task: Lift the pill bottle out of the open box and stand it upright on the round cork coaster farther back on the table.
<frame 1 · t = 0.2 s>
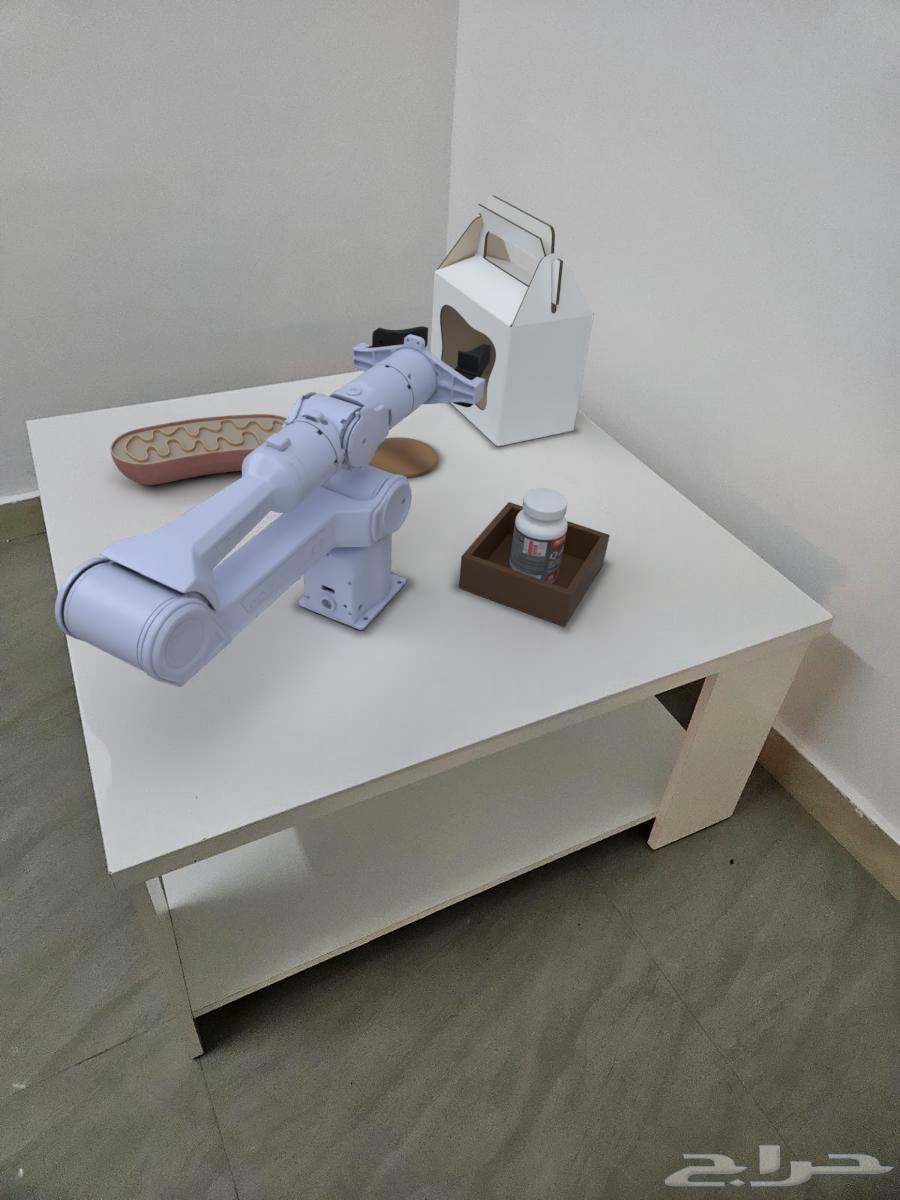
hand: (455, 344, 88), 21 cm above the table, tool horizontal, fingers open, 7 cm apart
gable box: (498, 407, 125), on the table
anatomical model: (211, 471, 106), on the table
open box: (532, 576, 93), on the table
coaster: (400, 458, 111), on the table
pill bottle: (532, 574, 93), resting on open box
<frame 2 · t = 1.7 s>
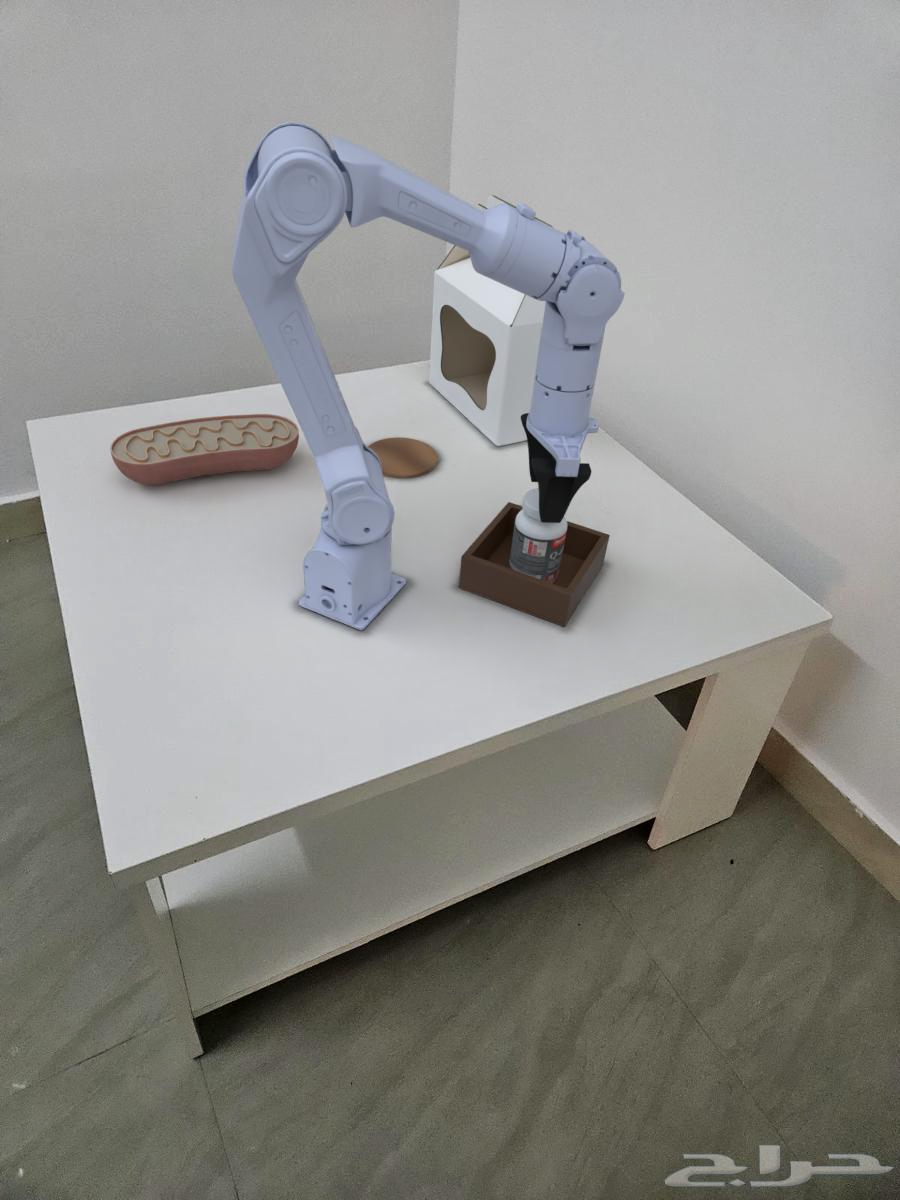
hand: (545, 500, 86), 10 cm above the table, tool pointing down, fingers open, 7 cm apart
nothing on the table moved.
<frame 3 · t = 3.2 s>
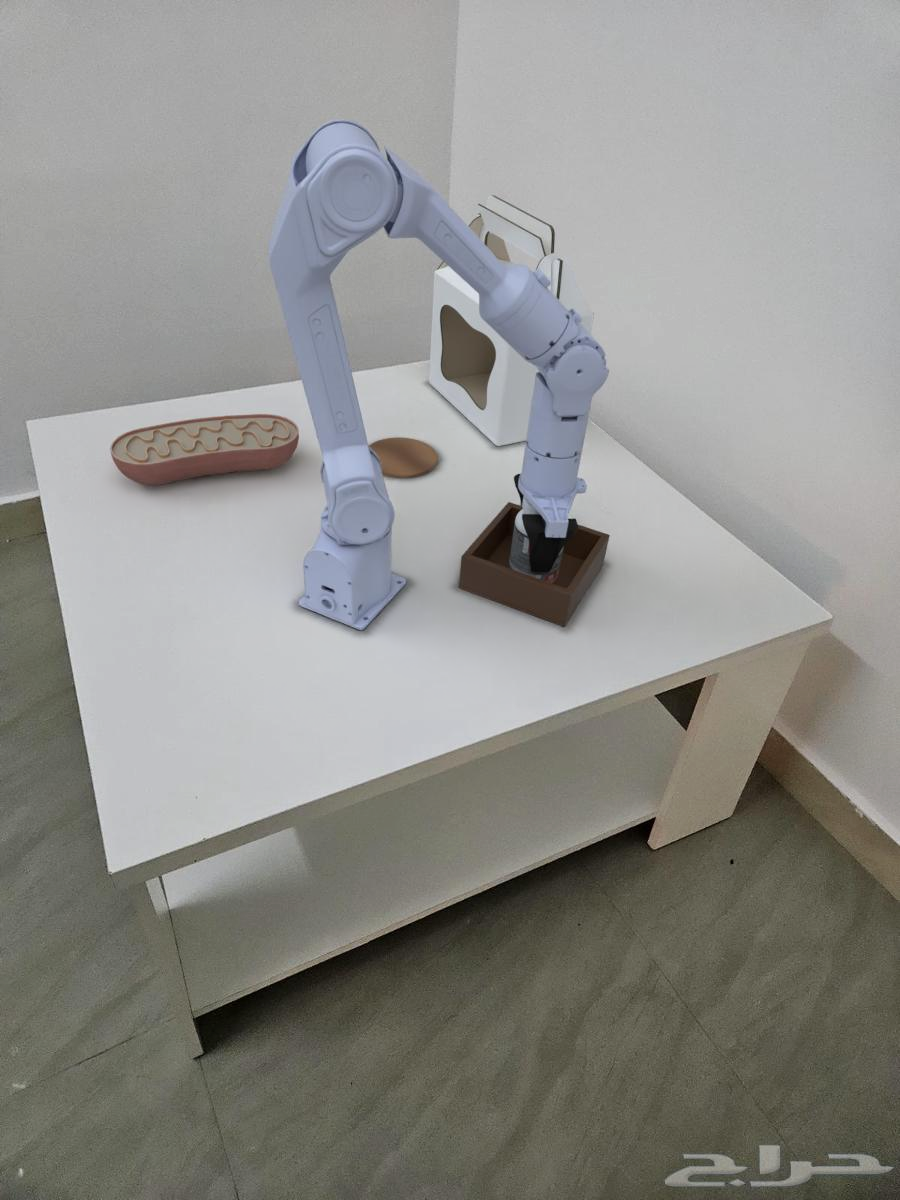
hand: (536, 553, 91), 3 cm above the table, tool pointing down, fingers closed on pill bottle, 5 cm apart
pill bottle: (532, 574, 93), resting on open box, touching gripper
everything else where it was.
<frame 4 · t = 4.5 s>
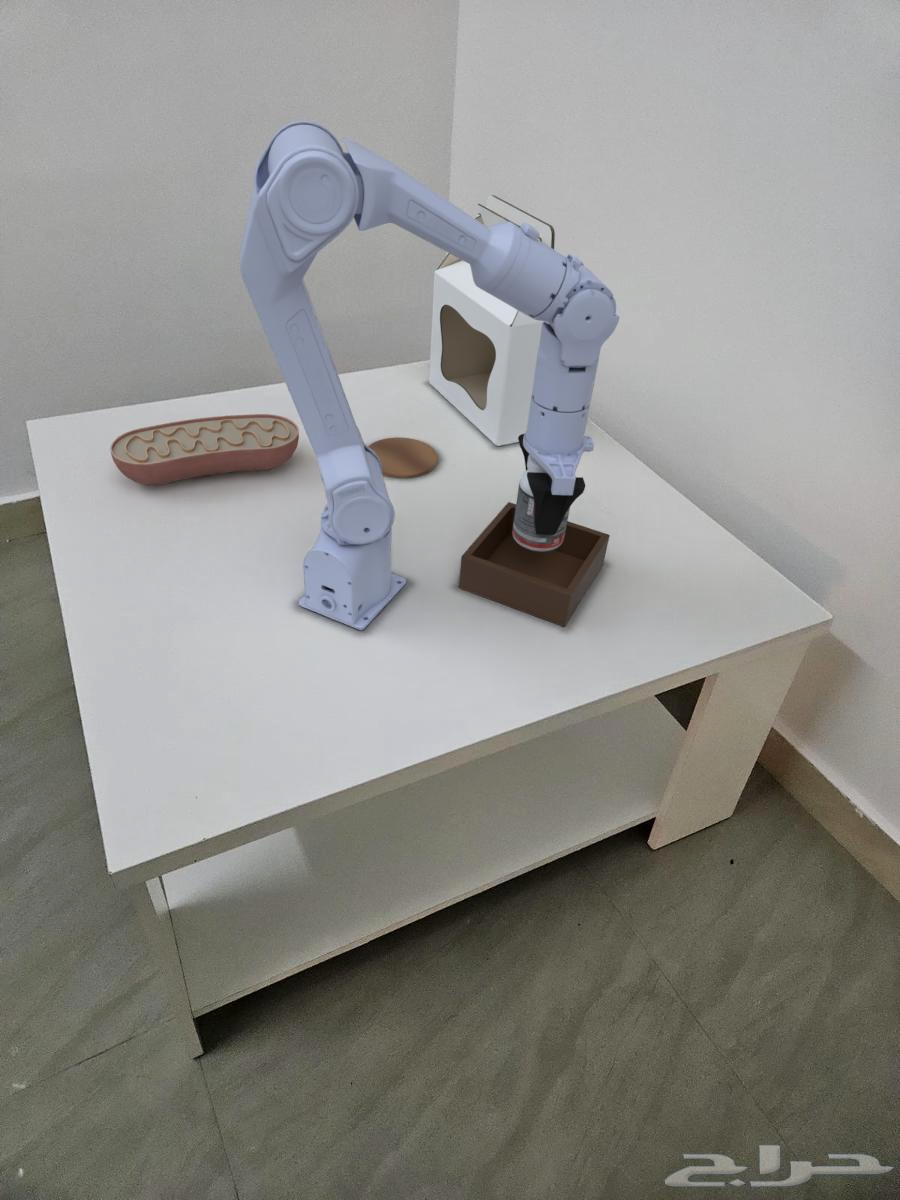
hand: (541, 516, 87), 8 cm above the table, tool pointing down, fingers closed on pill bottle, 5 cm apart
pill bottle: (537, 539, 89), point 5 cm above the table, touching gripper
everything else where it was.
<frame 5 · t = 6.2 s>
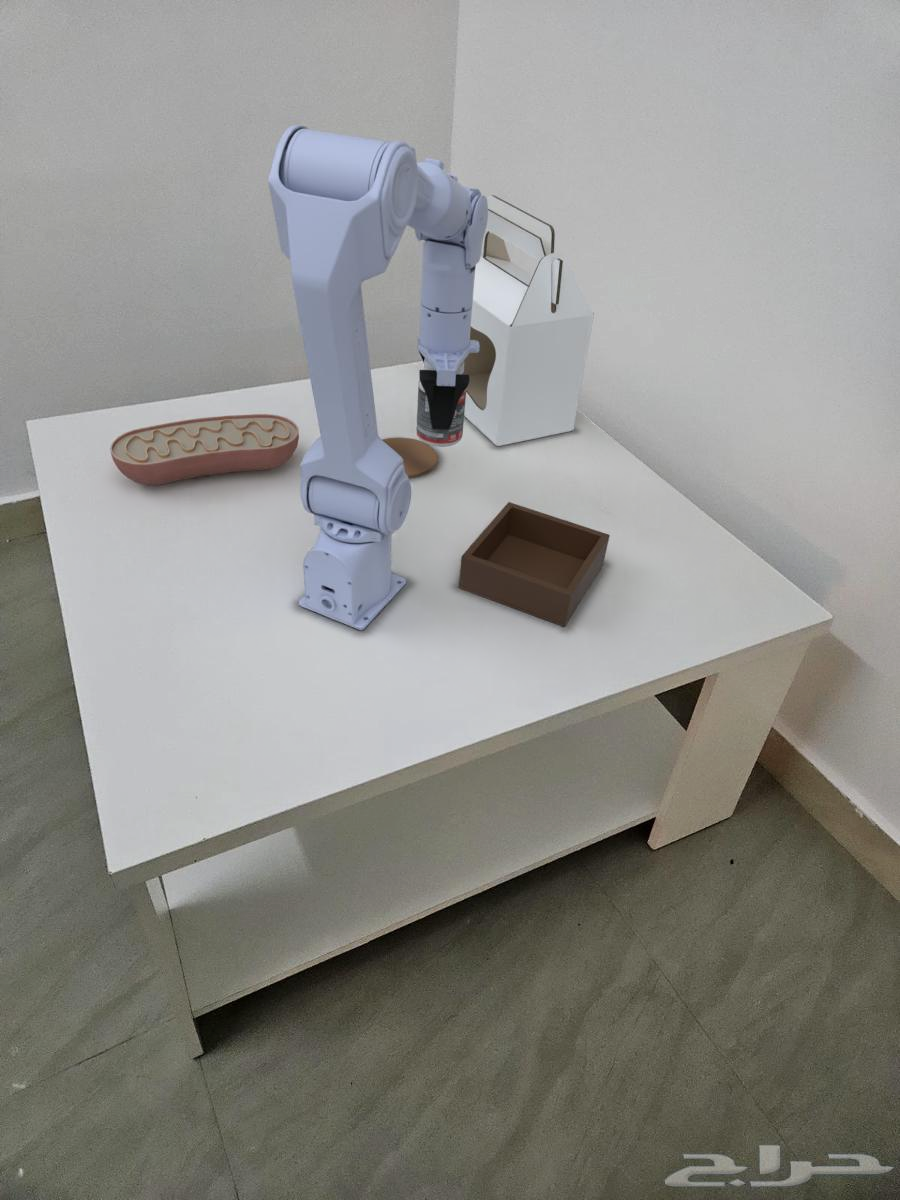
hand: (439, 415, 99), 10 cm above the table, tool pointing down, fingers closed on pill bottle, 5 cm apart
pill bottle: (439, 438, 101), point 7 cm above the table, touching gripper
everything else where it was.
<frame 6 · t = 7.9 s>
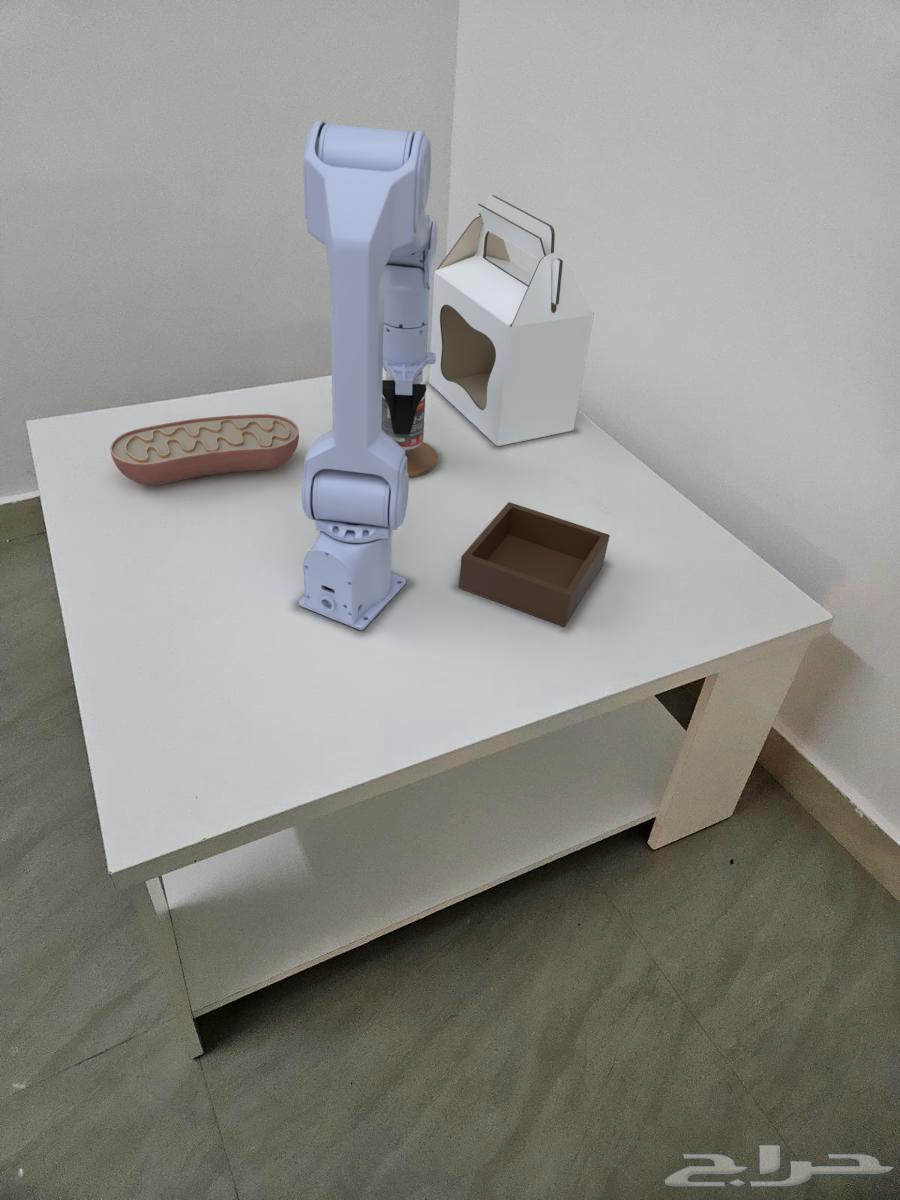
hand: (401, 421, 107), 6 cm above the table, tool pointing down, fingers closed on pill bottle, 5 cm apart
pill bottle: (401, 442, 109), point 2 cm above the table, touching gripper
everything else where it was.
when the fingers open (3 cm above the table, at t = 9.2 s): pill bottle stays where it is, resting on coaster.
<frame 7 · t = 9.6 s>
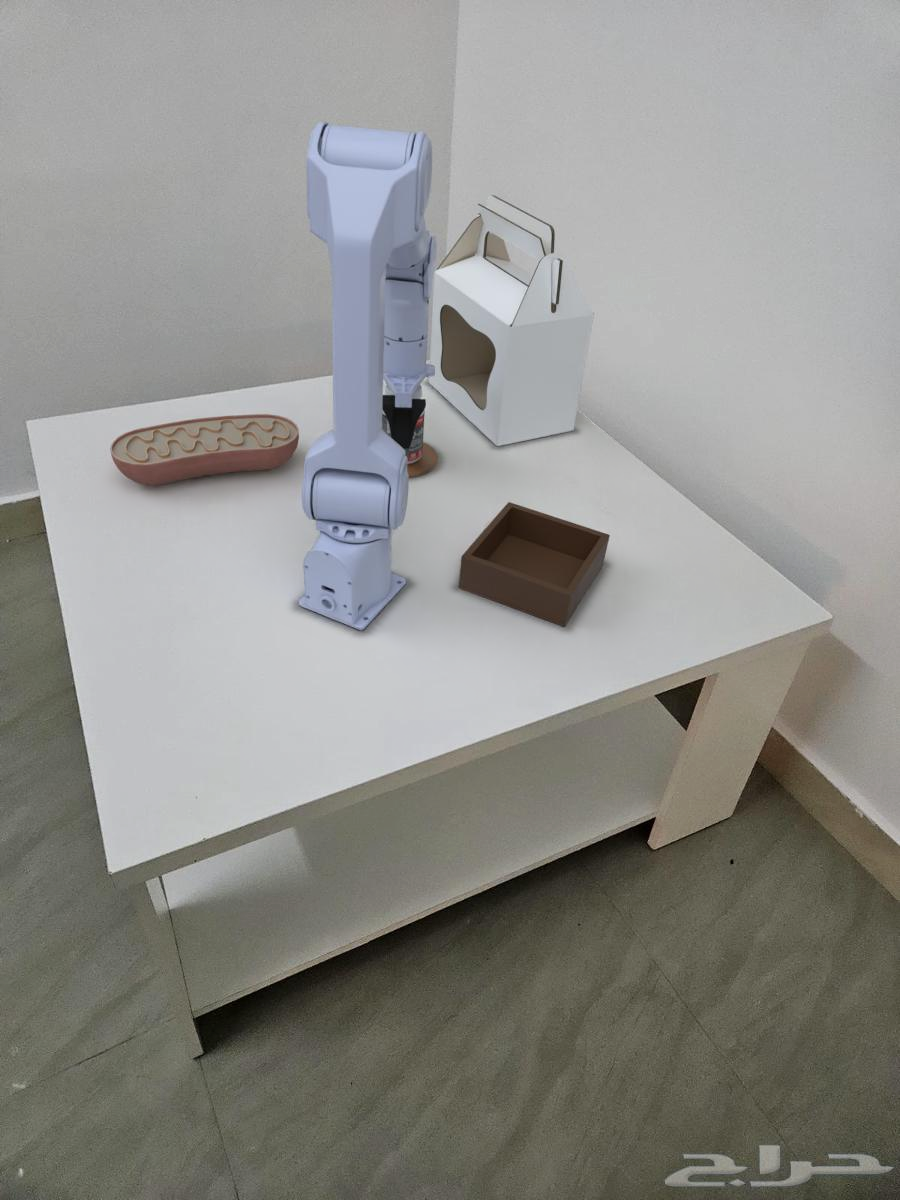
hand: (401, 432, 108), 4 cm above the table, tool pointing down, fingers open, 7 cm apart
pill bottle: (401, 456, 111), resting on coaster
everything else where it was.
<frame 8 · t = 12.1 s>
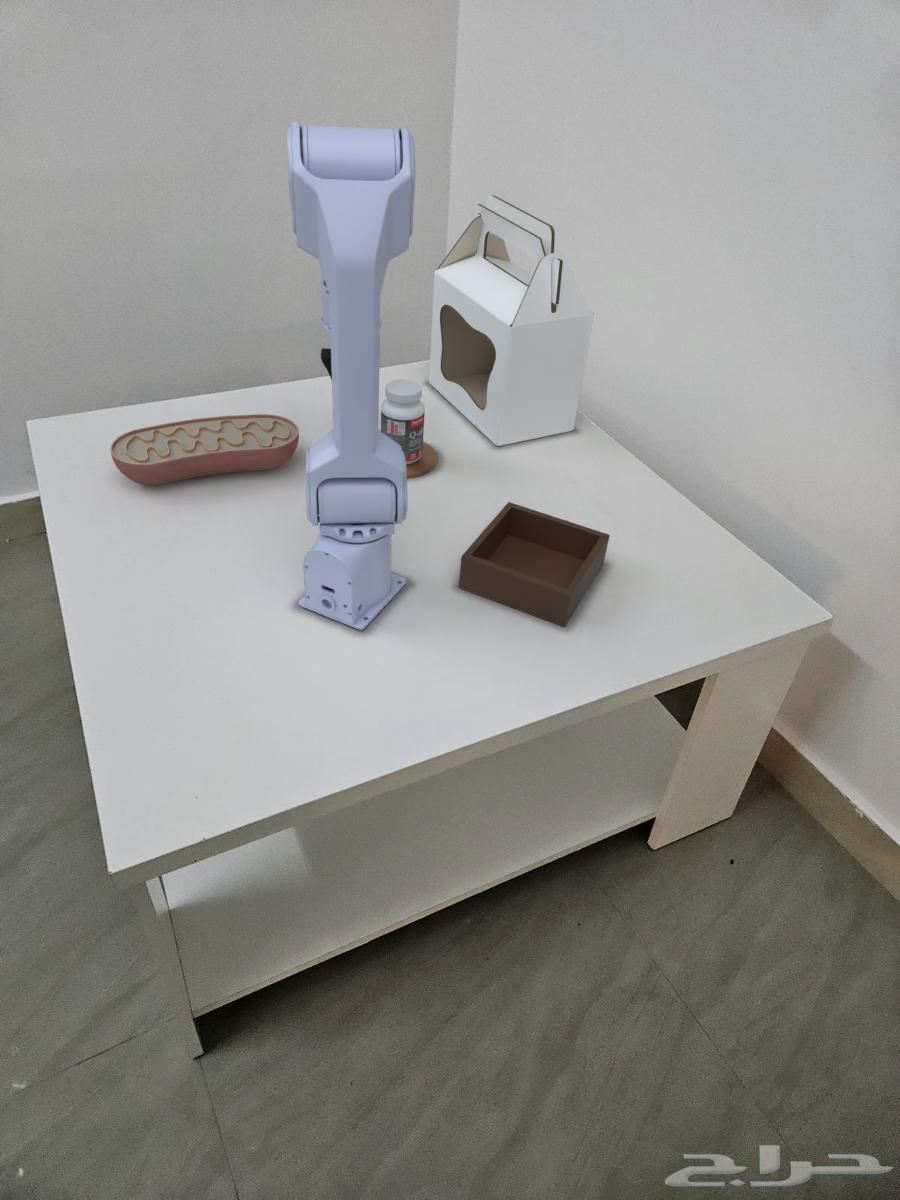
hand: (348, 391, 102), 10 cm above the table, tool pointing down, fingers open, 7 cm apart
nothing on the table moved.
at the end: pill bottle 0.1 cm off-centre on the coaster, point 0.3 cm above the coaster's base; pill bottle tilted 0°; the gripper is holding nothing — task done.
